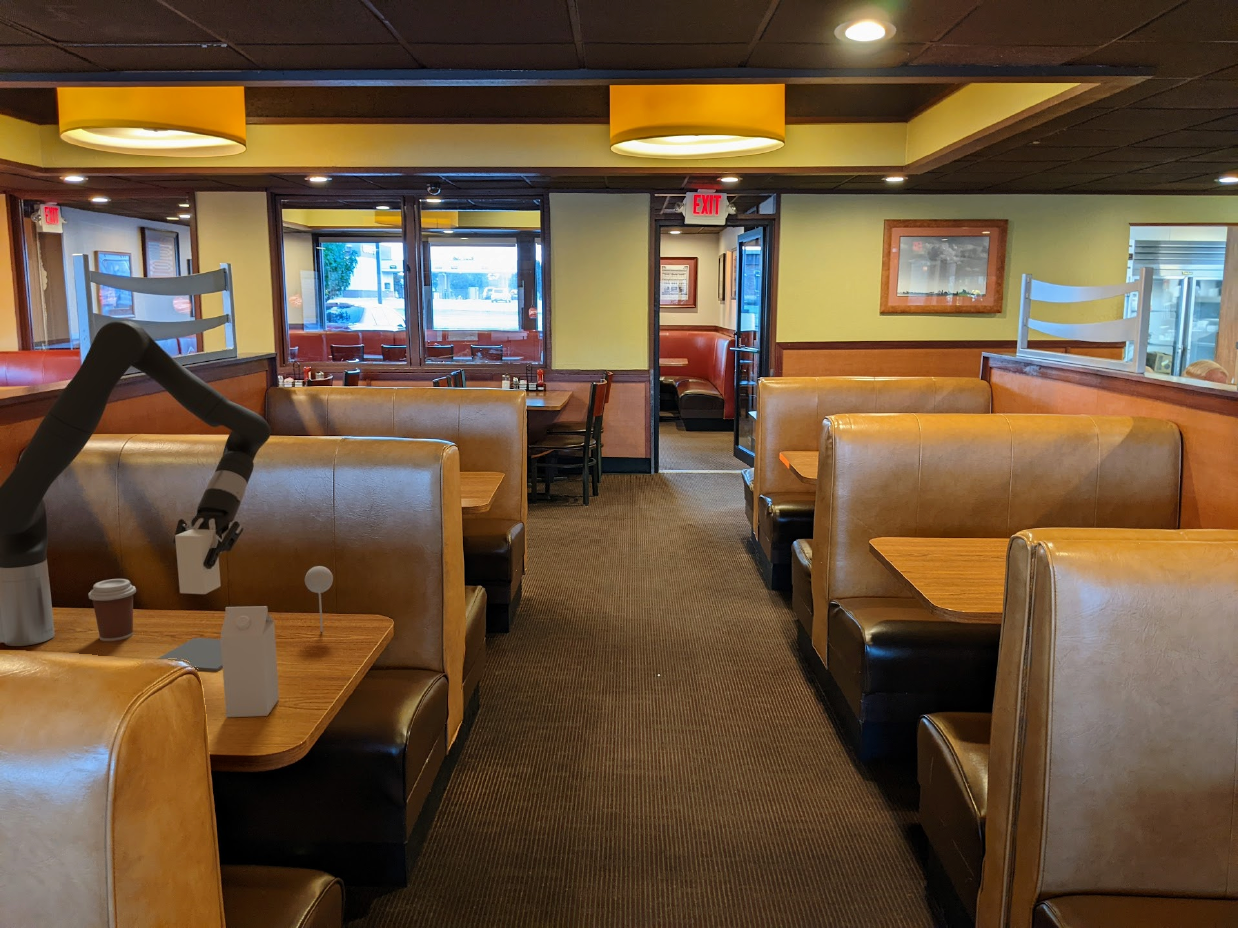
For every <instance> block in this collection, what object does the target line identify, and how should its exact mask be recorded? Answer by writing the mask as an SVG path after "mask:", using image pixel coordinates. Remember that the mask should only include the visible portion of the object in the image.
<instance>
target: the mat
mask: <svg viewBox="0 0 1238 928" xmlns="http://www.w3.org/2000/svg"><path fill="white" fill-rule="evenodd" d="M168 658H177V659H168ZM157 659H168V660H175V661H183V662H186V663H188V664H189V665H191V666H192V667H194V668H195V669H196V670H195V671H203V670H206V672H218V671H220V670H223V666H222V653H221V638H220V639H219V638H209V637H208V638H206V637H204V638H203V637H193V638H192V639H190V640H188V641H186V642H184V643H183V644H181V645H179V646H177V647H176V648H173V649H172V650H170V651H168V652H167V653H165V654H163V655H161V656H160V657H157ZM181 659H184V660H187V661H189V662H190V663H189V662H187V661H184V660H181ZM195 666H196V667H195ZM197 668H198V669H199V670H198V669H197Z"/></svg>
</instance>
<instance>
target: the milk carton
mask: <svg viewBox="0 0 1238 928" xmlns="http://www.w3.org/2000/svg"><path fill="white" fill-rule="evenodd" d="M222 623H223V624H222V628H221V630H220V631H221V632H220V635H219V637H220V639H221V653H222V666H223V668H222V680H223V692H224V702H225V703H224V704H225V706H224V707H225V716H226V718H238V717H239V718H241V717H247V718H248V717H265V716H266V717H267V716H268V715H269V714H270V712H271V711H272V710H273V708H274V707H275V706H276V704H277V703H278V701H279V700H280V693H279V681H278V680H279V676H278V660H277V646H276V644H277V643H276V629H275V621H274V619H273V618H272V616H271V615H270V613H269V612H268V606H266V605H264V606H261V605H260V606H226V607H225V614H224V619H223V622H222Z"/></svg>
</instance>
